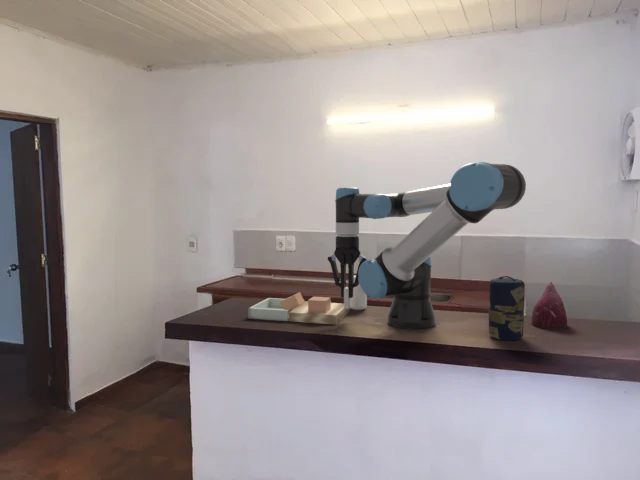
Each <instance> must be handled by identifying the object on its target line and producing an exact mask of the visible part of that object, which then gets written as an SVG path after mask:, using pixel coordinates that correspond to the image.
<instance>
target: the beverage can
mask: <svg viewBox="0 0 640 480" xmlns="http://www.w3.org/2000/svg"><path fill="white" fill-rule="evenodd" d="M355 278H356V274H354V282H355ZM367 298H368V296H367V295H366V294H365V293H364V292H363V290H362V289H361V287H360V284H359V285H358V286H357V287H354V288H353V297H352V298H350V307H349V309H351V310H353V311H363V310H365V309H367V307H368V305H367V304H368V299H367Z"/></svg>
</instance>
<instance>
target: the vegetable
mask: <svg viewBox="0 0 640 480" xmlns="http://www.w3.org/2000/svg"><path fill="white" fill-rule="evenodd" d="M567 318H568V317H567V312H566V308H565V305H564V302H563V299H562V298H561V295H560V294H559V293H558V291H557V289H556V287H555V285H554V284H553V282H552V281H550V282H549V283H548V284H546V286H545V288H544V290H543V292H542V294H541V296H540V297H539V299H538V300H537V301H536V303H535V305H534V306H533V310H532V313H531V318H530V319H531V325H532V324H533V325H532V326H534V327H536V326H537V328H540V327H541V329H545V328H546V330H562V329H565V328H567V327H568V319H567Z"/></svg>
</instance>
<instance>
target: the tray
mask: <svg viewBox="0 0 640 480" xmlns="http://www.w3.org/2000/svg"><path fill="white" fill-rule="evenodd" d="M284 299H285V298H277V297H274V298H273V297H267V298H266V299H263V300H261V301H260V302H257V303H256V304H254V305H252V306H250V307H248V308H247V314H248V315H247V317H248V319H250V320H251V319H252V320H265V321H280V322H281V321H282V322H290V321H289V312H290V311H292V310H293V309H295V308H296V307H295V308H293V309H291V310H289V311H288V310H284V309H283V307H282V305H281V303H280V302H281V301H283V300H284Z"/></svg>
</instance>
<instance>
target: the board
mask: <svg viewBox="0 0 640 480" xmlns="http://www.w3.org/2000/svg"><path fill="white" fill-rule="evenodd" d="M349 313H350V307H349V308H344V302H343V303H341V302H338V303H337V302H331V309H330V310H329V311H328V312H327V313H316V312H308V300H307V301H305V302H304V303H303V304H301V305H300V306H298V307H296V308H295V309H293V310H292V311H290V312H289V321H288V322H295V323H309V324H323V325H337V324H338V323H339V322H341V321H342V319H344V317H346V316H347V315H348V314H349Z"/></svg>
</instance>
